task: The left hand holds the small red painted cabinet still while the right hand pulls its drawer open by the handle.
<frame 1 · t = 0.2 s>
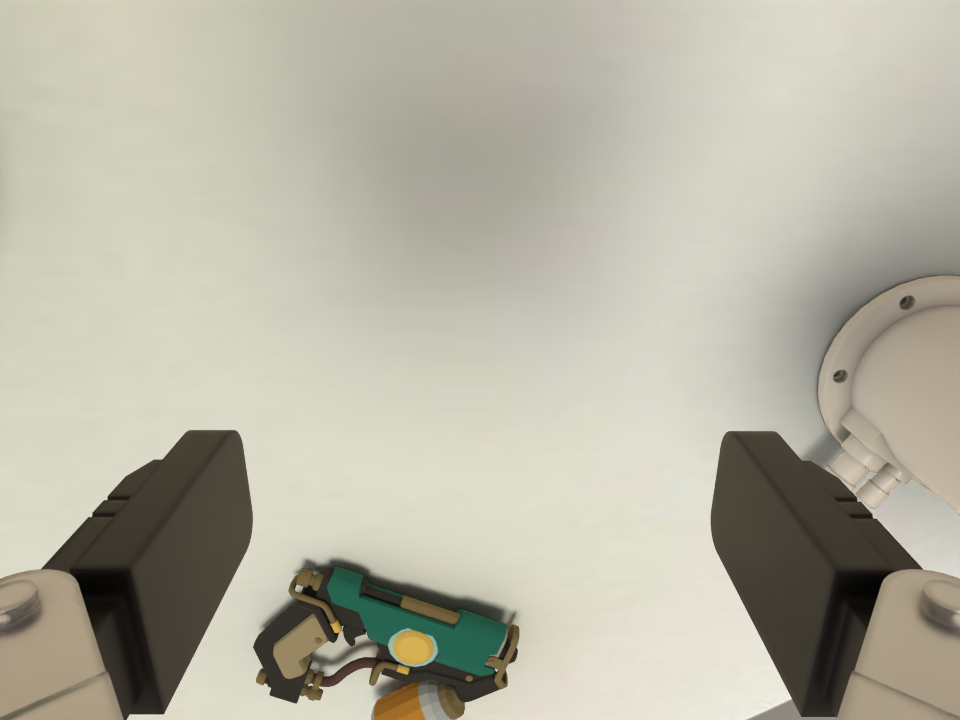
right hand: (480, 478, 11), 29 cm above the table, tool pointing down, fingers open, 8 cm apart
green toy blaster: (386, 634, 50), on the table
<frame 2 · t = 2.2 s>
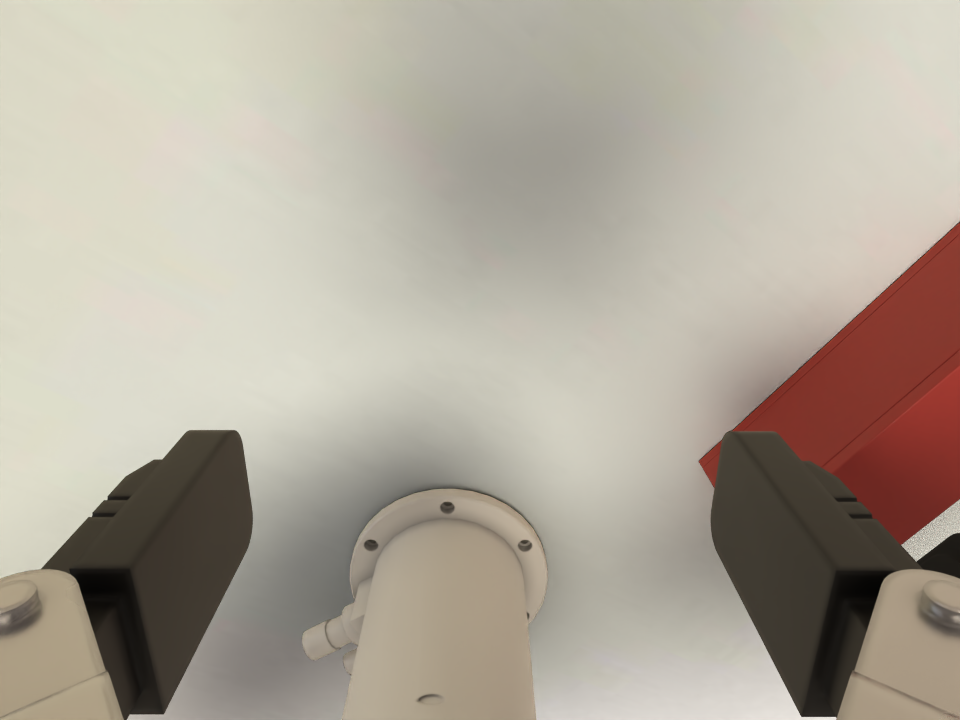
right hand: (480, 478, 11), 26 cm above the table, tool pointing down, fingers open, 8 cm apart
cabinet: (855, 377, 39), on the table
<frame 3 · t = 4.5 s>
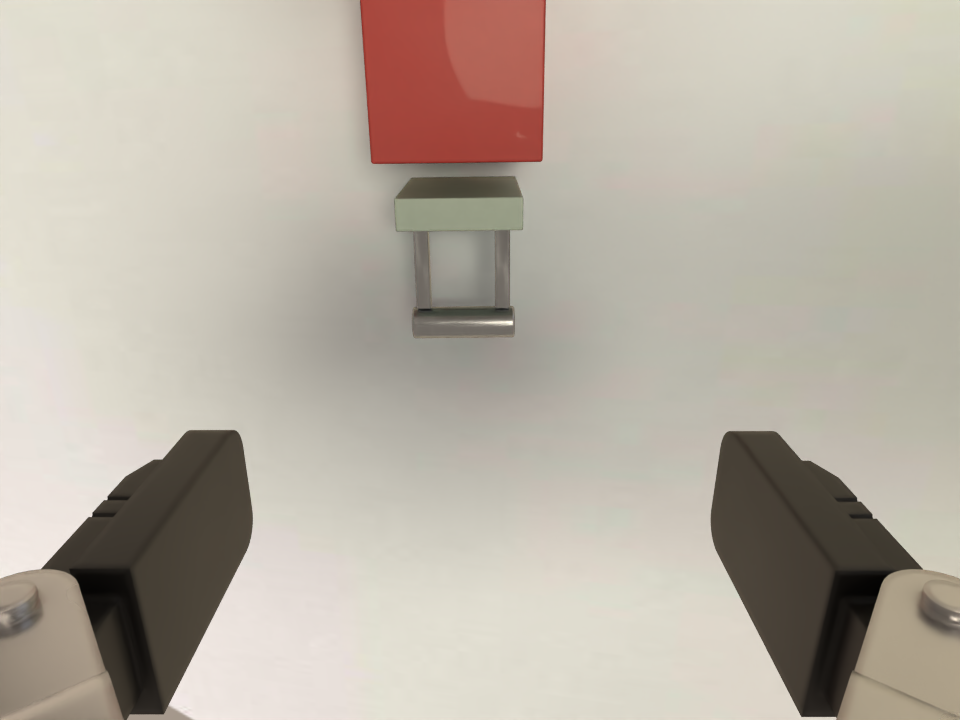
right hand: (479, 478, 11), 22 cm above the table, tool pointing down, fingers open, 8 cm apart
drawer: (457, 40, 26), point 4 cm above the table, slide at 1.3 cm
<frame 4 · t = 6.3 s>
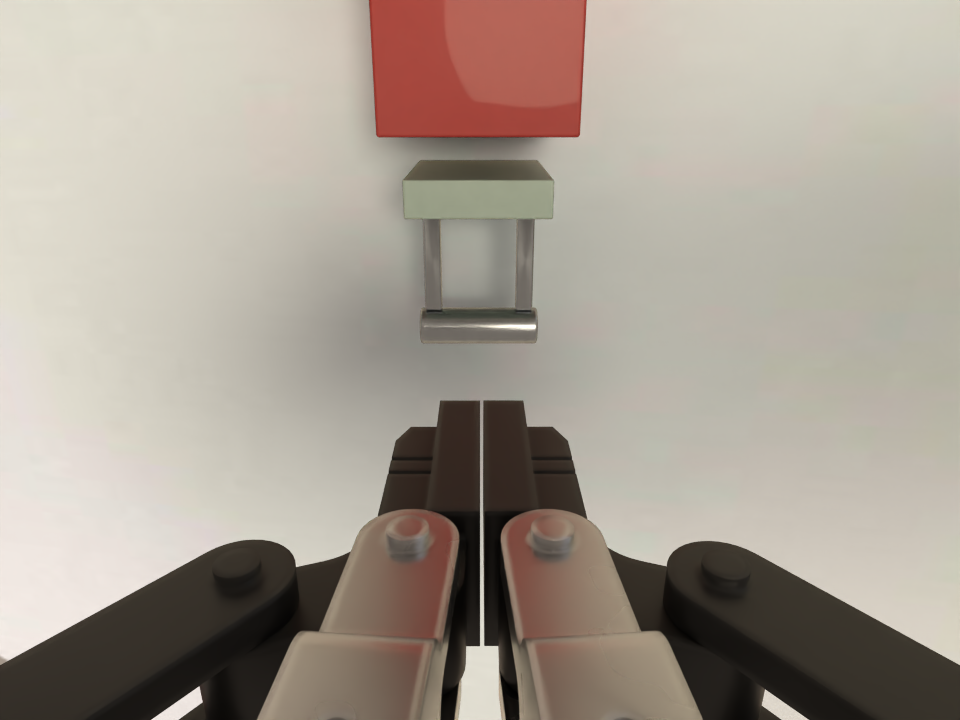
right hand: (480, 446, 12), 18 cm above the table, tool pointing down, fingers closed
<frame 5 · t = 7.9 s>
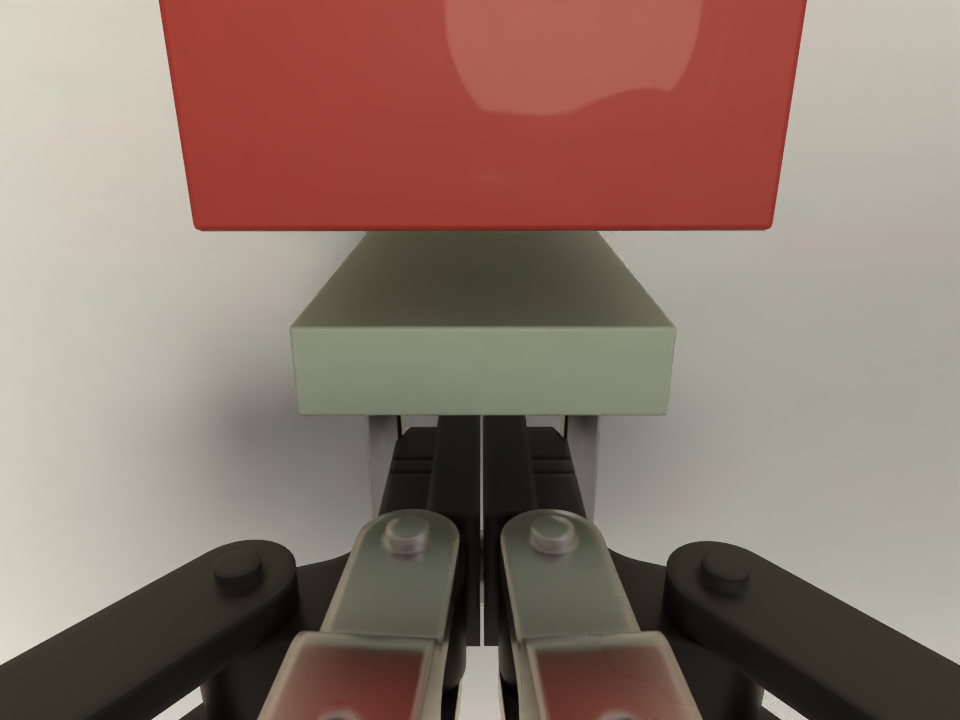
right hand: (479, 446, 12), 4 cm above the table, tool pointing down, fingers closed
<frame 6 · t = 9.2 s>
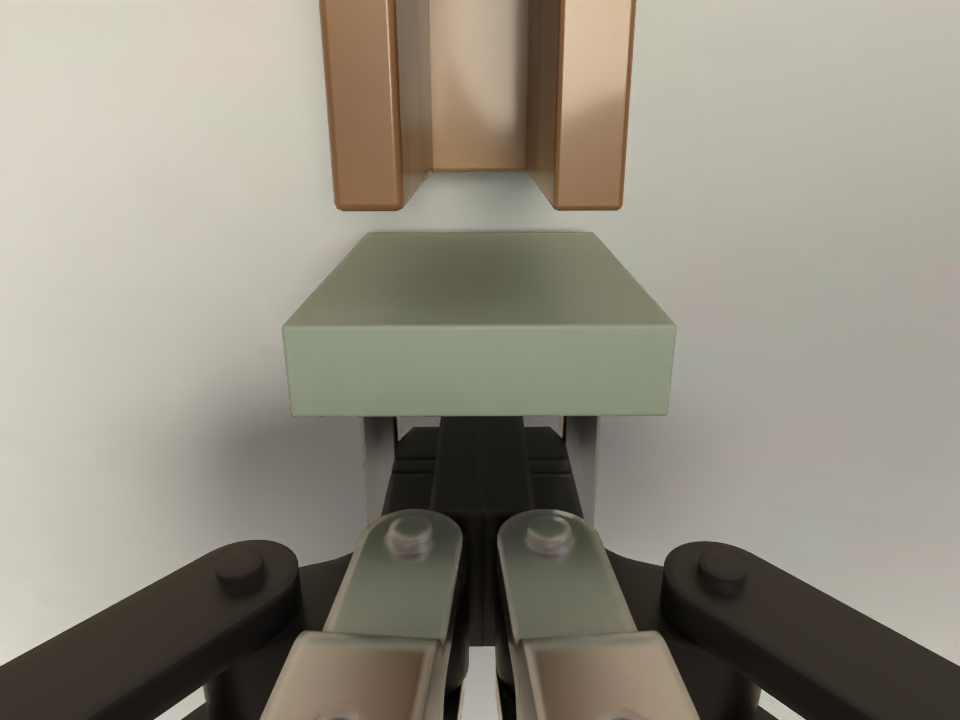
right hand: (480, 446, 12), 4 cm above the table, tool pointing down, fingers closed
when the left hand's fingers open (5 cm above the table, at t = 10.8 s): cabinet stays where it is, on the table.
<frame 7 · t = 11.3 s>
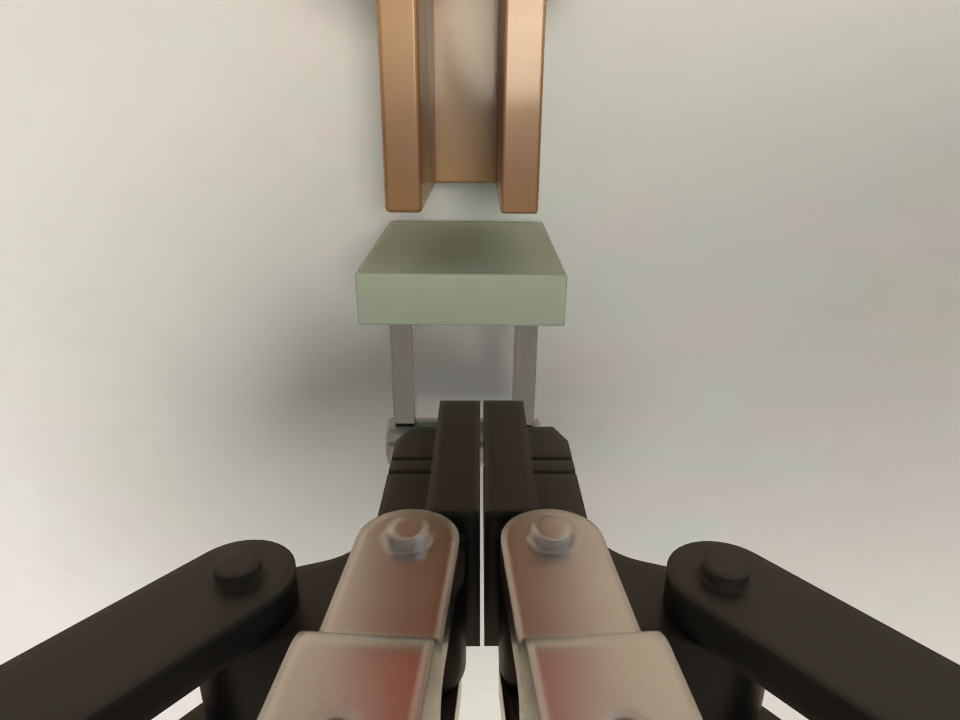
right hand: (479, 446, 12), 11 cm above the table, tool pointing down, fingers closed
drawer: (464, 16, 16), point 4 cm above the table, slide at 7.0 cm
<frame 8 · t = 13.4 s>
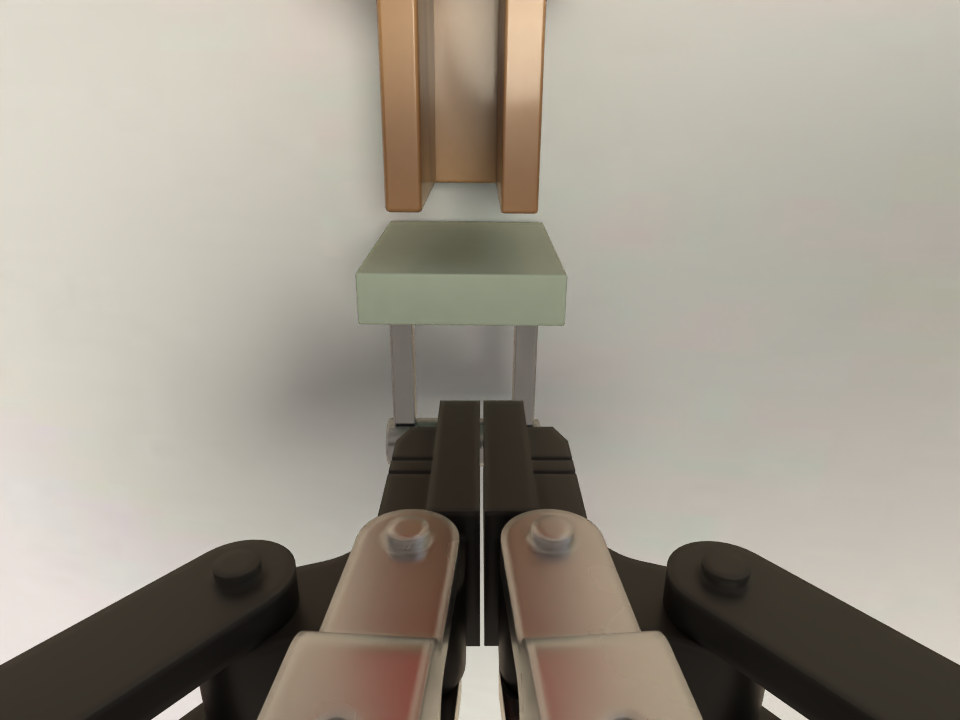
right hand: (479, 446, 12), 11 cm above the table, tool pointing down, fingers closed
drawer: (464, 16, 16), point 4 cm above the table, slide at 7.0 cm
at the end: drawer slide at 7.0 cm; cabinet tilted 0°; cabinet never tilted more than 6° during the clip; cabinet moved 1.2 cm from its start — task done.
